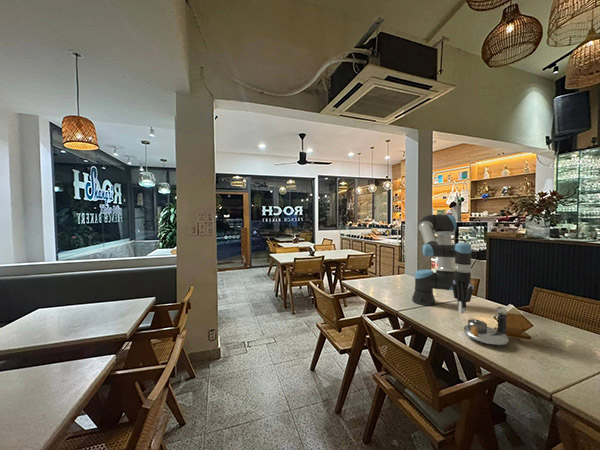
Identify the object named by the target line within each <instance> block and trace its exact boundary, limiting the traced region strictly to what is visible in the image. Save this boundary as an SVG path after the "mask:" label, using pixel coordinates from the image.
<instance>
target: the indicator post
mask: <svg viewBox="0 0 600 450" xmlns="http://www.w3.org/2000/svg"><path fill="white" fill-rule="evenodd" d="M496 312H497V314H494V317H495V318H496V317H497V330H498V331H500V332H502V333H504V334H505V335H506V336H507V334H506V333H507V332H506V331H507V309H506V308H505V307H504V306H501V305H500V306H497V308H496Z"/></svg>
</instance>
